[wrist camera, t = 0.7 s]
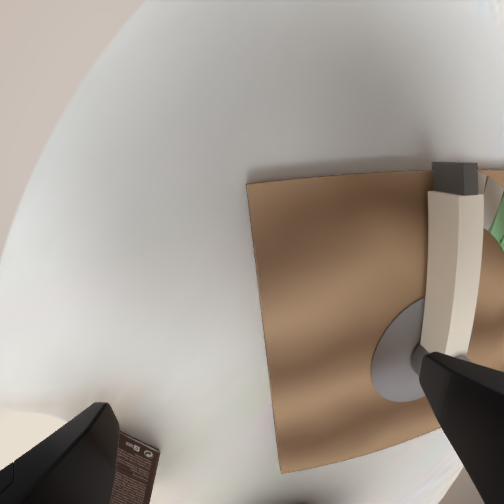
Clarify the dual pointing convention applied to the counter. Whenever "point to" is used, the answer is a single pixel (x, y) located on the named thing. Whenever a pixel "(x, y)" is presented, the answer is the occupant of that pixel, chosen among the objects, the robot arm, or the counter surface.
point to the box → (134, 471)
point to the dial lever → (452, 261)
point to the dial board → (357, 307)
